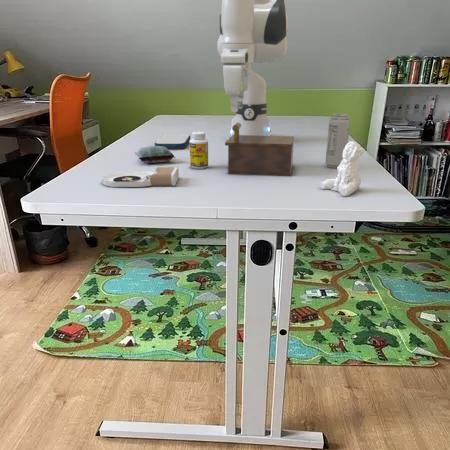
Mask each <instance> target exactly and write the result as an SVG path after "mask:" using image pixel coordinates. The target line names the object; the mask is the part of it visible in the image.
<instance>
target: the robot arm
mask: <svg viewBox="0 0 450 450" xmlns="http://www.w3.org/2000/svg"><path fill="white" fill-rule="evenodd" d="M288 30H289V17H288V12H287V9H286V4H285V0H221V10H220V14H219V33H220V35H219V37H218V39H217V42H216V50H217V54H218V56H219V58H220V64H221V65H222V74H223V86H224V92H225V93H224V94H225V95H226V96H229V101H230V112H231V113H235V116H234V117H233V118H232V119H231V129H230V137H231V136H232V135H234V131H233V129H232V127H233V126H234V125H235V124H236V123H240V124H241V128H240V129H239V135H254V136H272V135H271V133H272V130H271V129H270V127H271V120H270V117H268V116H267V112H268V104H267V81H266V79H265V77H263V76H261V75H260V74H258V73H256V72H255V71H253V69H252V64H271V63H275V62H279V61H282V60H283V59H284V57H285V55H286V54H287V51H288V44H289V43H288V42H289V41H288V38H287V34H288ZM230 137H229V136H228V137H227V138H226V141H227V140H228V139H229V138H230Z"/></svg>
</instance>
